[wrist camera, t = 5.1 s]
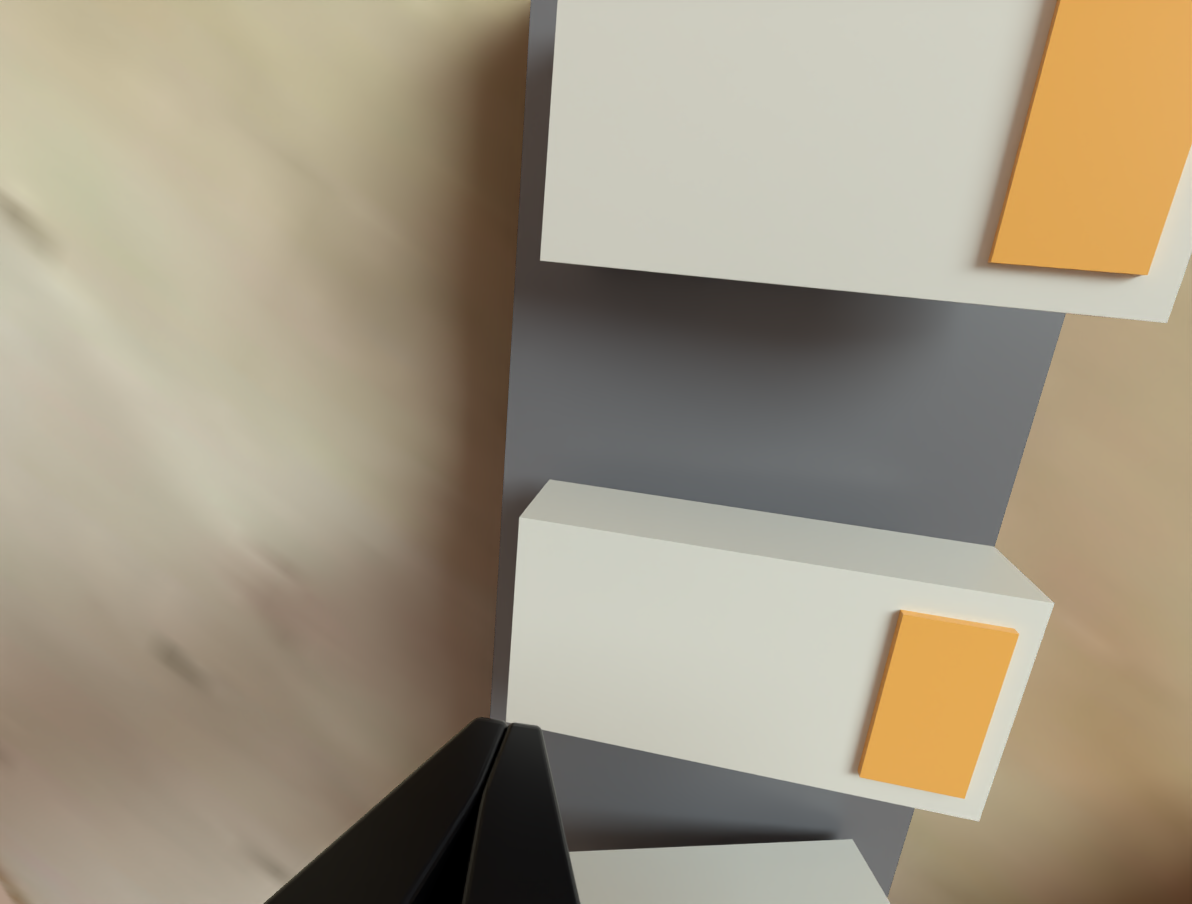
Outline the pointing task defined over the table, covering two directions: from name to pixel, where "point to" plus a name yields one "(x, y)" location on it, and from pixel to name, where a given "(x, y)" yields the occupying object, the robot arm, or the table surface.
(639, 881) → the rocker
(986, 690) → the block
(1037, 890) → the table surface
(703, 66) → the rocker
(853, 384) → the power strip
